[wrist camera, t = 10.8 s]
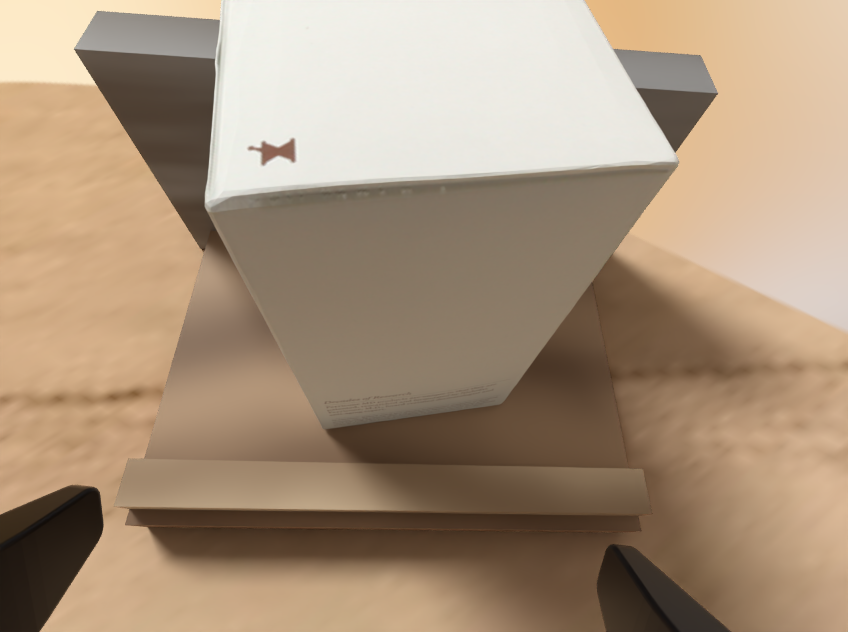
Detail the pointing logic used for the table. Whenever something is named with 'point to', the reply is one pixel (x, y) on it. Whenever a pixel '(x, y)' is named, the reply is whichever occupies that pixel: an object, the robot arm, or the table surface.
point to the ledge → (284, 398)
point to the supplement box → (422, 188)
